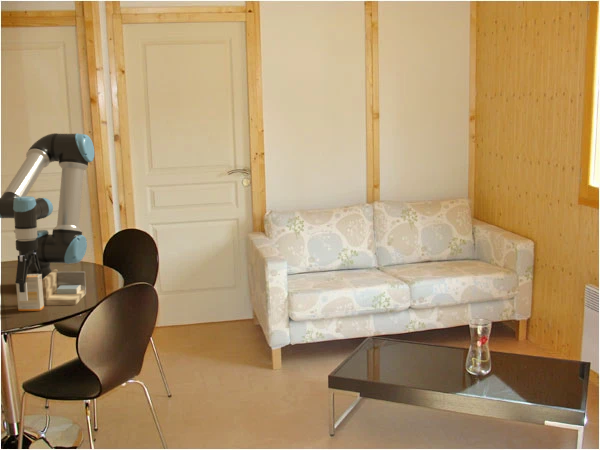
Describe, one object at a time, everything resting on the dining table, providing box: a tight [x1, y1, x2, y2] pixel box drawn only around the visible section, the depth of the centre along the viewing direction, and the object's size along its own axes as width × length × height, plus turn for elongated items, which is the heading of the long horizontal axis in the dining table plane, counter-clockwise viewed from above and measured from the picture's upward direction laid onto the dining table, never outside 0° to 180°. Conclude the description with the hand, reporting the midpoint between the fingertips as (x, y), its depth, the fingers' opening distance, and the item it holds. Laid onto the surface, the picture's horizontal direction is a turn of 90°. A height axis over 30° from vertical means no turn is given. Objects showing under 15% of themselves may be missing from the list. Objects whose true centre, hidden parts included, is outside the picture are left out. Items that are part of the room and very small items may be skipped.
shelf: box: [42, 269, 87, 306], centre depth 272 cm, size 16×12×10 cm
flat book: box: [57, 285, 81, 294], centre depth 275 cm, size 6×8×2 cm
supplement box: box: [15, 274, 45, 312], centre depth 258 cm, size 8×5×13 cm, turn 92°
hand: (29, 295), depth 258 cm, fingers open, 13 cm apart
